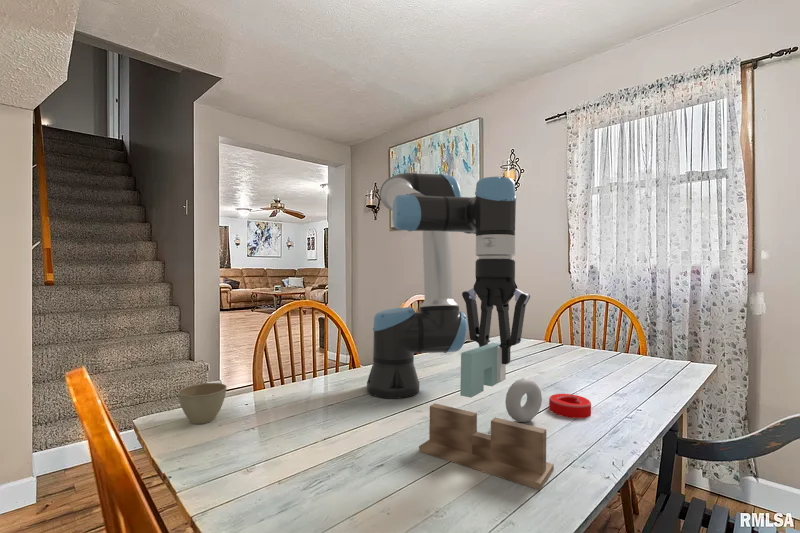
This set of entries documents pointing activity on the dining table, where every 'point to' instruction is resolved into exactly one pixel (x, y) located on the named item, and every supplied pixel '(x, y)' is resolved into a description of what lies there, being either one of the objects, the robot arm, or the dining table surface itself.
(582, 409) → the decorative ornament
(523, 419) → the donut
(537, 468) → the jig
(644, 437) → the dining table surface
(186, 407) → the olive beige bowl
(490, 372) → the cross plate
